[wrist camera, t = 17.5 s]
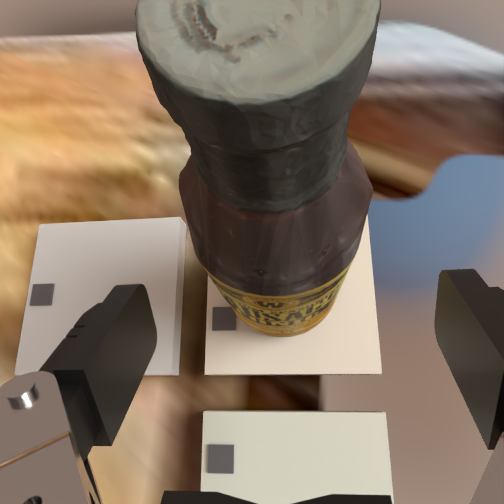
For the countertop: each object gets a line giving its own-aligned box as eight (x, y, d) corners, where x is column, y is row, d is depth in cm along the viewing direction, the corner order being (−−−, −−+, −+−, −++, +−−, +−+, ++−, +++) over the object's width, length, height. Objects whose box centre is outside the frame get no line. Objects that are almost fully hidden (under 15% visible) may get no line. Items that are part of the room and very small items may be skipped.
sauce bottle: (227, 337, 25) (-22, 169, 6) (238, 238, 27) (73, -119, 8) (340, 346, 24) (449, 180, 5) (343, 242, 26) (430, -153, 7)
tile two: (210, 375, 26) (203, 374, 24) (214, 223, 29) (209, 214, 27) (378, 374, 25) (382, 373, 23) (363, 216, 28) (367, 206, 26)
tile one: (29, 376, 27) (11, 375, 26) (52, 232, 30) (37, 223, 29) (178, 375, 26) (170, 374, 24) (186, 225, 29) (179, 215, 28)
